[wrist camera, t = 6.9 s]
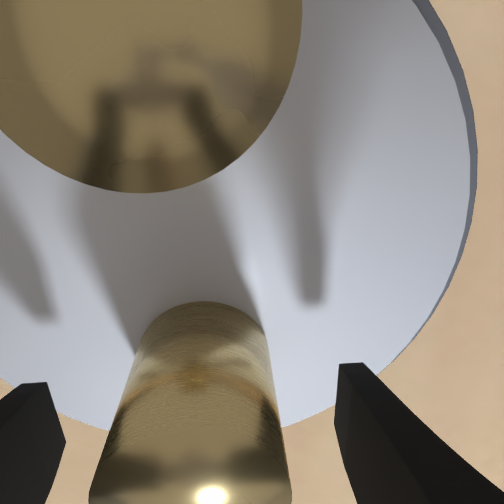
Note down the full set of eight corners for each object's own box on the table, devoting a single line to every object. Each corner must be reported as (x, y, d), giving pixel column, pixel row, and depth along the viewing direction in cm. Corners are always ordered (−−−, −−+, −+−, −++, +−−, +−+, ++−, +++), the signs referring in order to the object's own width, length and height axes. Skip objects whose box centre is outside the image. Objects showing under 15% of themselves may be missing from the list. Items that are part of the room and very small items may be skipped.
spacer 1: (263, -62, 8) (309, -246, 3) (266, 143, 9) (298, 186, 5) (61, -61, 7) (-152, -252, 3) (99, 149, 9) (-9, 200, 5)
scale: (511, -225, 9) (644, -373, 6) (403, 385, 16) (441, 447, 13) (-222, -233, 8) (-463, -404, 5) (17, 410, 15) (-29, 481, 12)
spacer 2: (262, 293, 11) (284, 418, 7) (273, 397, 12) (297, 550, 8) (124, 310, 11) (61, 447, 7) (153, 412, 12) (117, 574, 8)
